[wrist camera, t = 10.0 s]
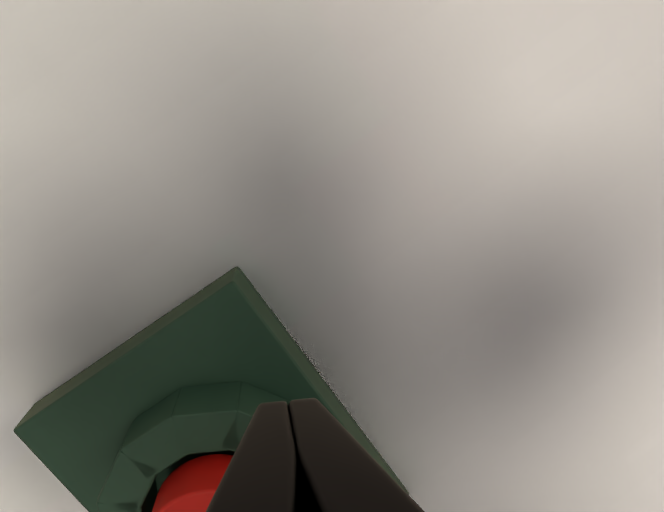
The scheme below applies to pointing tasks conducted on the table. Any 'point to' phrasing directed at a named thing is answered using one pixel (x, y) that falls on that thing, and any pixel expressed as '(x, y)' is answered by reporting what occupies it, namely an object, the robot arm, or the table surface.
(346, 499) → the robot arm
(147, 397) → the button box
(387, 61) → the table surface
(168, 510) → the button
